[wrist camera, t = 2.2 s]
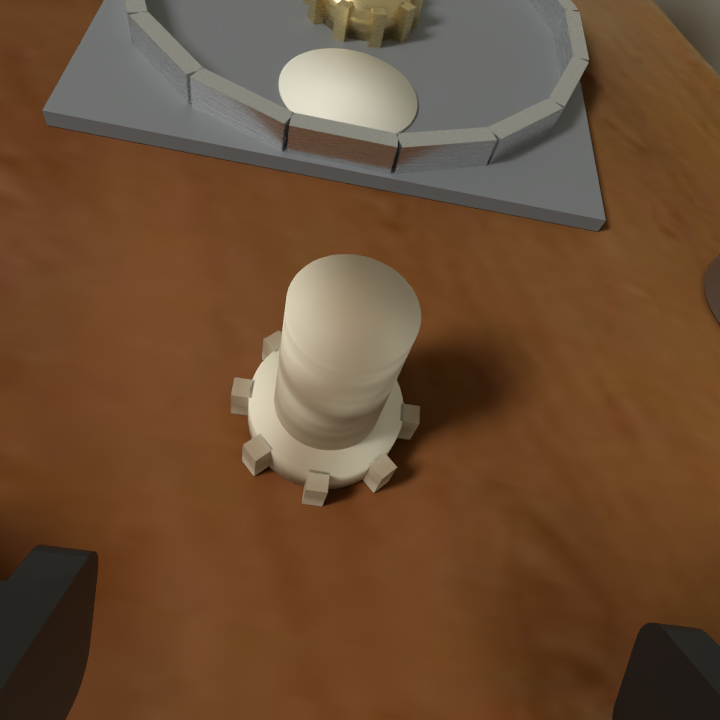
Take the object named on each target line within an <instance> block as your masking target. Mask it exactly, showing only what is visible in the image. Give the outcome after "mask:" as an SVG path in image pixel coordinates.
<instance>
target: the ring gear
mask: <svg viewBox="0 0 720 720" xmlns="http://www.w3.org/2000/svg"><path fill="white" fill-rule="evenodd" d="M122 2H123V6H124V11H125V15H126V20H127V24H128V28H129V33H130V37H131V42H132V43H133V46H134V47H135V48H136V49H137V50H138V51H139V52H140V53H141V55H142V56H143V57H144V58H145V59H146V60H147V61H148V62H149V63H150V64H151V65H152V66H153V67H154V68H155V69H156V70H157V71H158V72H159V74H160V75H161V76H162V77H163V78H164V79H165V80H166V81H167V82H168V83H169V84H170V85H171V86H172V87H173V88H174V89H175V90H176V91H177V92H178V94H179V95H180V96H181V97H182V98H183V99H184V100H185V101H186V102H187V103H188V104H190V103H192V107H194V108H196V109H198V110H200V111H202V112H204V113H206V114H208V115H210V116H212V117H214V118H216V119H218V120H220V121H222V122H224V123H226V124H228V125H230V126H232V127H234V128H236V129H238V130H240V131H241V132H243V133H245V134H247V135H249V136H251V137H253V138H255V139H257V140H259V141H261V142H263V143H265V144H267V145H269V146H271V147H273V148H275V149H277V150H279V151H281V152H282V151H283V150H284V149H285V148H286V147H287V154H292V155H297V156H302V157H307V158H312V159H317V160H322V161H328V162H333V163H338V164H343V165H348V166H353V167H358V168H363V169H368V170H373V171H379V172H384V173H389V174H390V172H391V169H393V171H394V173H395V174H400V173H411V172H422V171H433V170H444V169H454V168H465V167H476V166H486V164H487V163H488V164H489V165H490V164H491V163H493V162H495V161H497V160H499V159H501V158H503V157H505V156H507V155H509V154H511V153H513V152H514V151H516V150H518V149H520V148H522V147H524V146H526V145H528V144H530V143H532V142H534V141H536V140H538V139H539V138H541V137H543V136H545V135H547V134H549V133H550V132H551V131H552V130H553V128H554V126H555V124H556V122H557V121H558V119H559V117H560V115H561V113H562V111H563V110H564V108H565V106H566V104H567V102H568V100H569V98H570V97H571V95H572V93H573V91H574V89H575V87H576V86H577V84H578V82H579V80H580V78H581V76H582V74H583V72H584V70H585V69H586V67H587V65H588V63H589V62H588V61H589V57H588V52H587V47H586V42H585V37H584V32H583V27H582V22H581V17H580V12H578V9H577V8H576V6H575V5H574V4H573V2H572V1H571V0H529V2H530V3H531V4H532V6H533V7H534V8H535V10H536V11H537V13H538V14H539V15H540V17H541V18H542V19H543V21H544V22H545V23H546V25H547V26H548V27H549V29H550V30H551V32H552V33H553V34H554V41H555V47H556V54H557V60H558V67H559V73H560V79H559V81H558V83H557V85H556V86H555V88H554V90H553V91H552V93H551V95H550V97H549V98H548V99H545V100H543V101H541V102H539V103H537V104H535V105H533V106H531V107H529V108H527V109H525V110H522V111H520V112H518V113H516V114H514V115H512V116H510V117H508V118H506V119H504V120H502V121H500V122H497V123H495V124H493V125H491V126H489V127H481V128H467V129H452V130H438V131H424V132H410V133H392V132H387V131H383V130H378V129H373V128H368V127H363V126H358V125H353V124H348V123H343V122H338V121H333V120H329V119H324V118H319V117H314V116H309V115H304V114H299V113H294V112H292V111H290V110H288V109H286V108H284V107H282V106H280V105H278V104H276V103H274V102H272V101H270V100H268V99H266V98H264V97H262V96H260V95H258V94H256V93H253V92H251V91H249V90H247V89H245V88H243V87H241V86H239V85H237V84H235V83H233V82H231V81H229V80H227V79H225V78H223V77H221V76H219V75H217V74H215V73H213V72H211V71H209V70H207V69H205V68H203V67H202V66H201V65H200V64H199V63H198V62H197V61H196V60H195V59H194V58H193V57H192V56H191V55H190V54H189V53H188V52H187V51H186V50H185V49H184V48H183V47H182V46H181V45H180V44H179V43H178V42H177V41H176V40H175V39H174V37H173V36H172V35H171V34H170V33H169V32H168V31H167V30H166V29H165V28H164V27H163V26H162V25H161V24H160V23H159V22H158V21H157V20H156V19H155V18H154V17H153V16H152V15H151V14H150V13H149V12H148V11H147V7H146V3H145V0H122Z"/></svg>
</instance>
